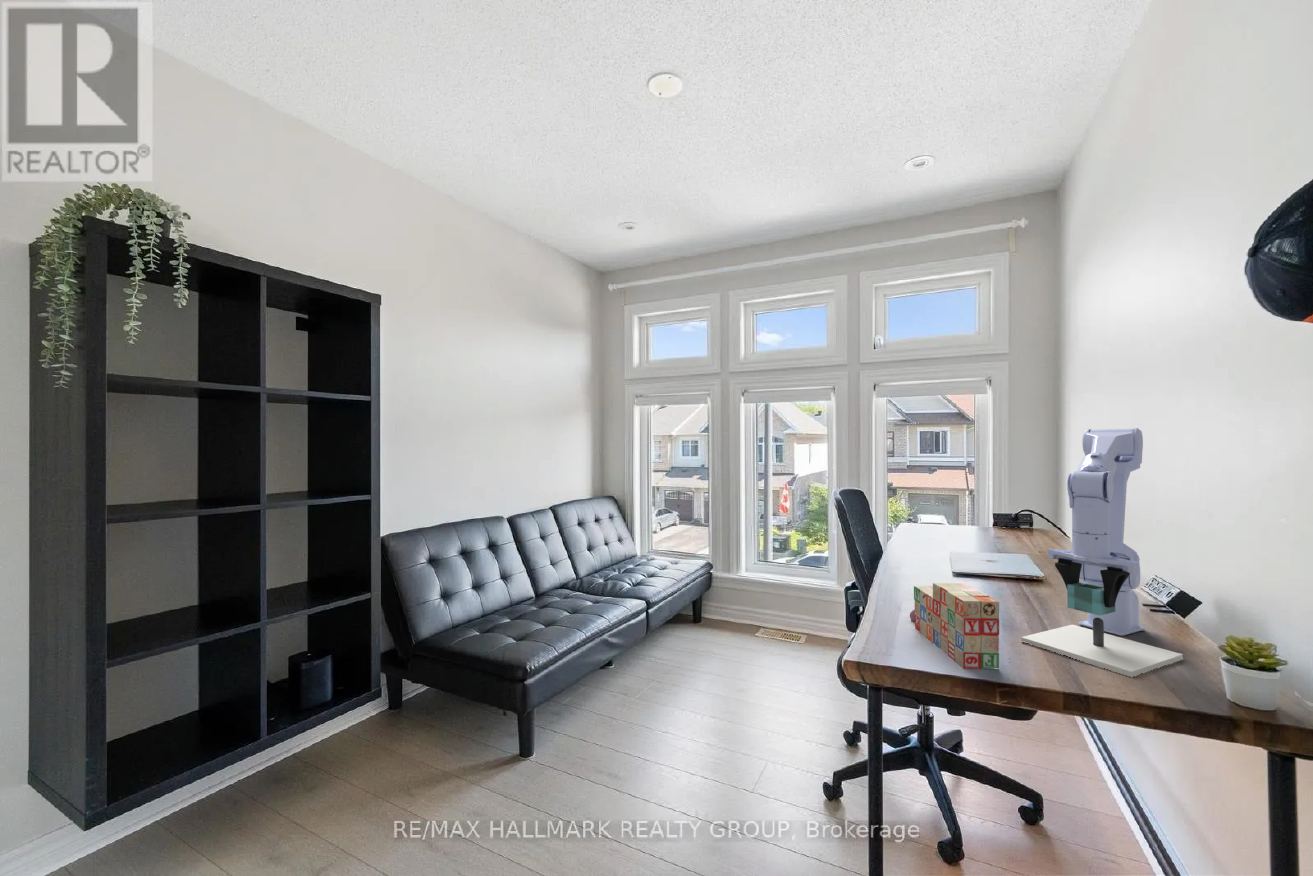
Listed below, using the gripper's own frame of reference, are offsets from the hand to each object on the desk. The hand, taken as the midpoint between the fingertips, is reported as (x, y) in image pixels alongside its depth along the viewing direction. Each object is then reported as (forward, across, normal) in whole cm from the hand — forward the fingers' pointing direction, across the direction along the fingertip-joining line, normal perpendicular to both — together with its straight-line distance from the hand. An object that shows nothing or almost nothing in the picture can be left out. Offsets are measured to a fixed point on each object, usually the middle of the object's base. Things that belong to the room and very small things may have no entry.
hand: (1091, 602), depth 103 cm
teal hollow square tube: (+1, 0, 0) cm, 1 cm away
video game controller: (+9, -24, -13) cm, 29 cm away
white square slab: (+9, +1, 0) cm, 9 cm away
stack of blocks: (+9, -12, -24) cm, 28 cm away
